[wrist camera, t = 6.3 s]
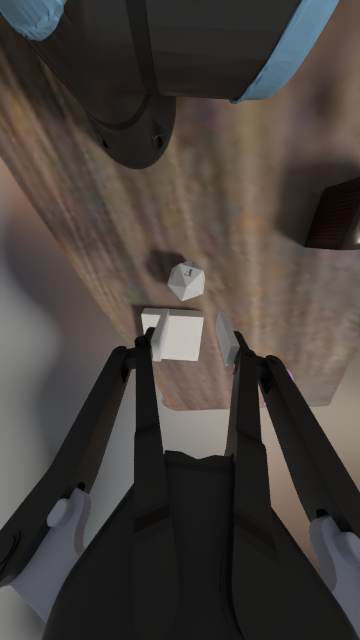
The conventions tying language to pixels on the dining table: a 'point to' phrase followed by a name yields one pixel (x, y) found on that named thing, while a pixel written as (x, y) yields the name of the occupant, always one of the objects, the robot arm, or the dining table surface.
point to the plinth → (178, 332)
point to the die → (187, 280)
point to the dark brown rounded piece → (337, 218)
